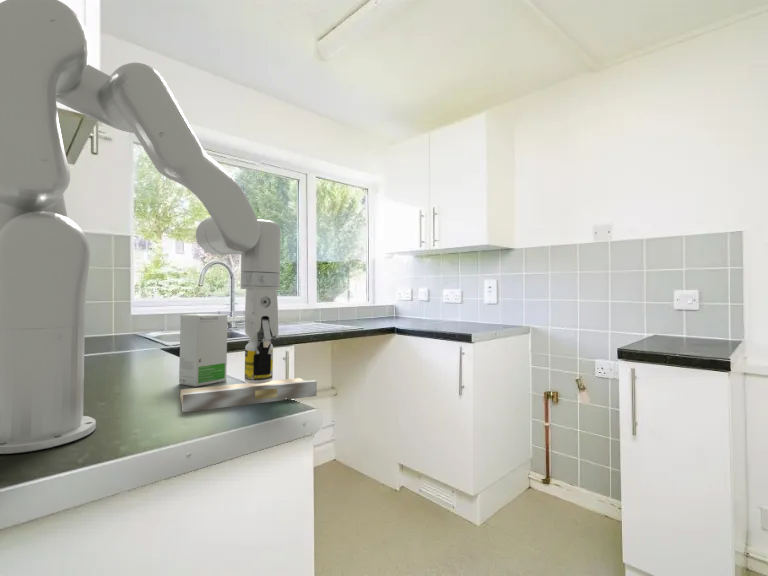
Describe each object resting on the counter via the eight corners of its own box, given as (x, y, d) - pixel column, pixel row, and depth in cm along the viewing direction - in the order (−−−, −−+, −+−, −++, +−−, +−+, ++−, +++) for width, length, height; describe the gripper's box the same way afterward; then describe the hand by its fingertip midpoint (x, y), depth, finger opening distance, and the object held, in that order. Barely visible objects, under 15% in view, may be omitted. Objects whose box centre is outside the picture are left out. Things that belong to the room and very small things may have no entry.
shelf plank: (182, 412, 68) (183, 395, 68) (180, 397, 78) (180, 381, 78) (317, 396, 79) (317, 381, 79) (300, 384, 89) (300, 371, 89)
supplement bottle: (239, 381, 80) (240, 332, 80) (262, 377, 84) (263, 330, 84) (254, 385, 76) (255, 334, 76) (278, 381, 80) (278, 332, 81)
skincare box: (195, 387, 85) (196, 315, 85) (176, 384, 89) (178, 314, 89) (228, 380, 93) (229, 313, 93) (209, 377, 96) (210, 312, 96)
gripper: (290, 281, 75) (288, 378, 74) (269, 283, 90) (267, 363, 89) (249, 280, 71) (247, 382, 71) (234, 282, 86) (232, 366, 86)
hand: (258, 371), depth 80 cm, fingers closed on supplement bottle, 5 cm apart
